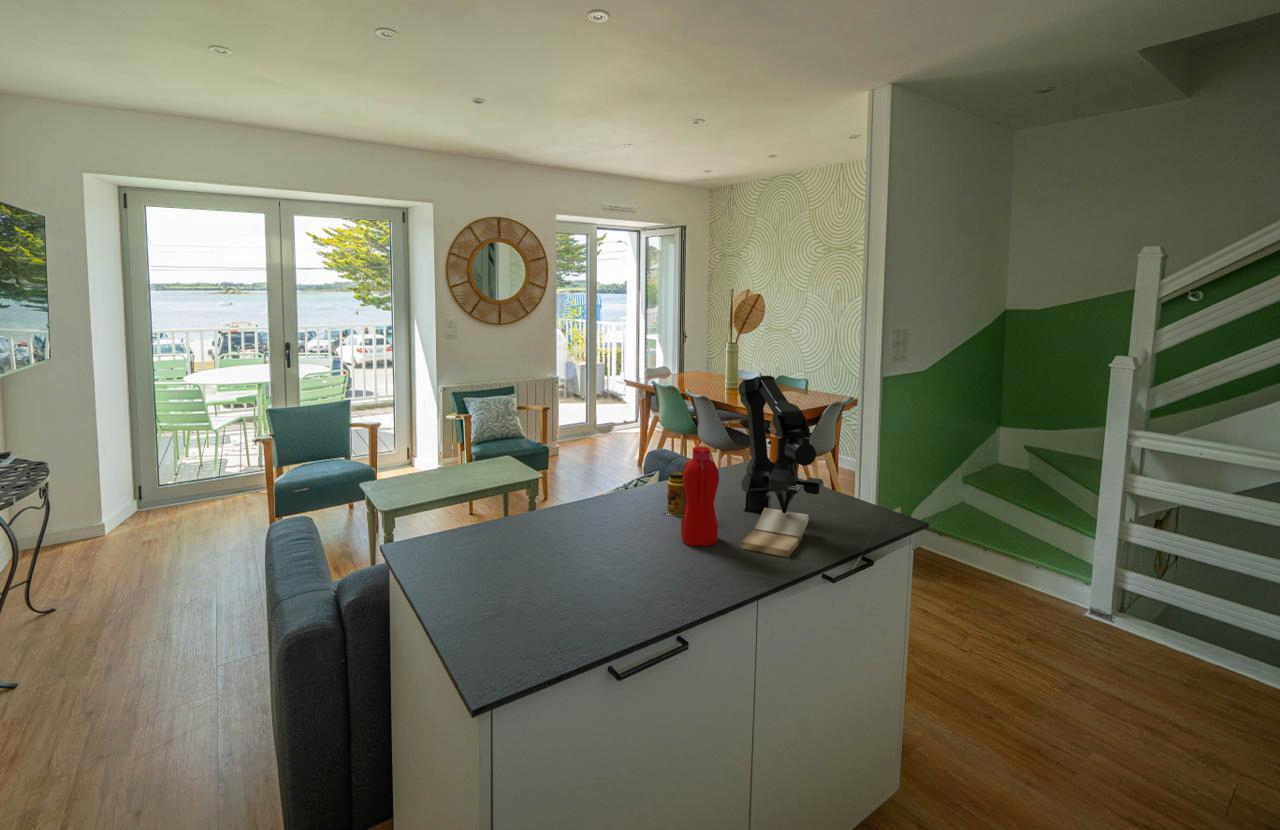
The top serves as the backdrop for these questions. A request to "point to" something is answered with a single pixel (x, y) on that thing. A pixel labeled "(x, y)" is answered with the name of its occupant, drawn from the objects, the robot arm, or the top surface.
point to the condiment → (676, 494)
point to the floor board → (770, 543)
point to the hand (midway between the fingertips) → (784, 512)
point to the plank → (782, 522)
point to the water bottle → (700, 499)
